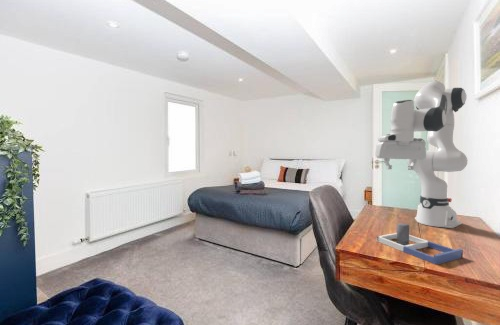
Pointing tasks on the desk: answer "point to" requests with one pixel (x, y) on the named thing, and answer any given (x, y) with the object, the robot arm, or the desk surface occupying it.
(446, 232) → the desk surface
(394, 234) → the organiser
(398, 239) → the smooth grey pebble
